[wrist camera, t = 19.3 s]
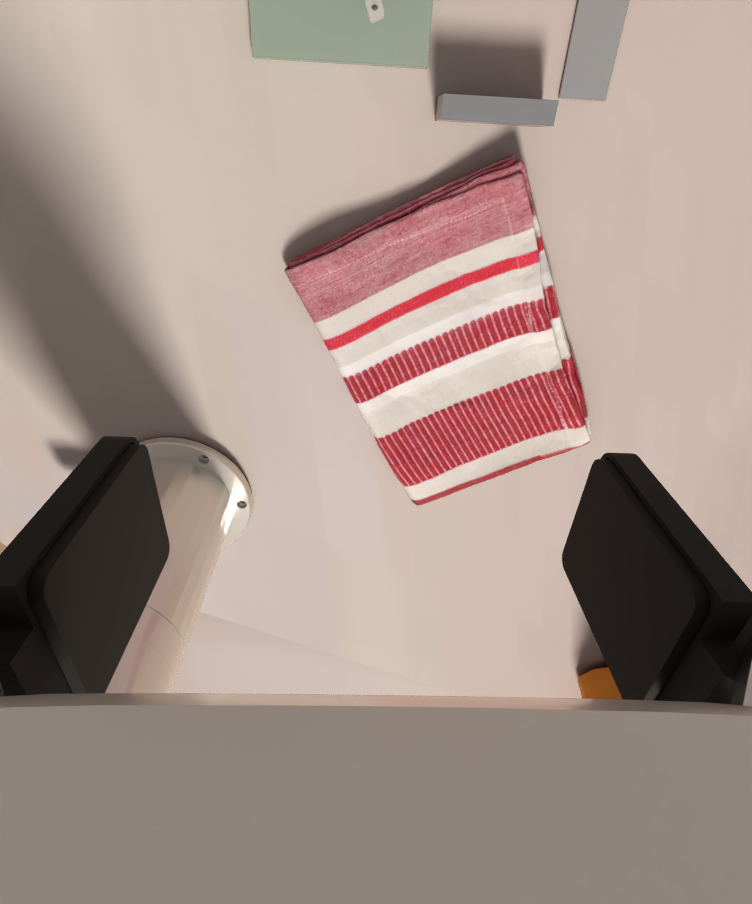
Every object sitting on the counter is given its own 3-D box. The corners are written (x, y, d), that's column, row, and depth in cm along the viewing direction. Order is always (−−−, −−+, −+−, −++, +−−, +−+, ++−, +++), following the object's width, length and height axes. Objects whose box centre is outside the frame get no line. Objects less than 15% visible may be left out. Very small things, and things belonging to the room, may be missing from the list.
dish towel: (514, 145, 32) (525, 147, 30) (589, 433, 44) (601, 449, 41) (284, 261, 36) (278, 270, 33) (409, 498, 47) (412, 516, 45)
